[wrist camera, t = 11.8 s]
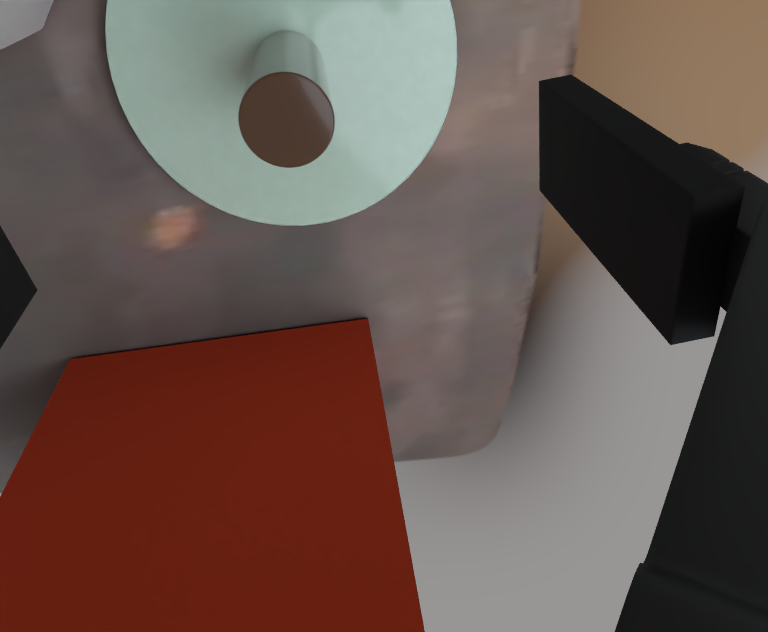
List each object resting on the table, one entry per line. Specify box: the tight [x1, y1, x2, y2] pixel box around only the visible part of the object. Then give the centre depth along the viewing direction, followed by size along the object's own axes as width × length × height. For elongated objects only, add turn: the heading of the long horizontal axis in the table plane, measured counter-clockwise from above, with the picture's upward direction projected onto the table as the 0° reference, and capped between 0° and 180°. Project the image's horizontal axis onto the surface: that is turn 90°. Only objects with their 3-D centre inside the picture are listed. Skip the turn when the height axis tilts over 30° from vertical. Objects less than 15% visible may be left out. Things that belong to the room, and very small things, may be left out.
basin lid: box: [105, 0, 457, 226], centre depth 24 cm, size 15×15×9 cm
